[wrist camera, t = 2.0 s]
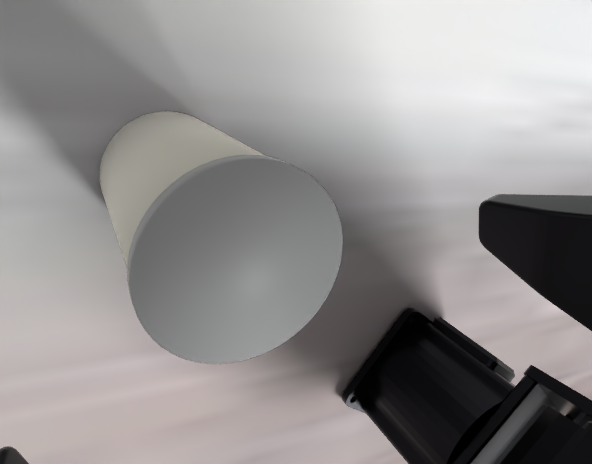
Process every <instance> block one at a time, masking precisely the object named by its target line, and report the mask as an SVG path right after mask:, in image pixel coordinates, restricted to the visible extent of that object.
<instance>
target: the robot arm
mask: <svg viewBox="0 0 592 464" xmlns="http://www.w3.org/2000/svg"><path fill="white" fill-rule="evenodd" d="M479 239H480V242H481V243H482V245H483V246H484V247H485V248H486V249H487V250H488V251H489V252H491V253H492V254H493V255H494V256H495V257H496V258H498V259H499V260H500V261H501V262H502V263H504V264H505V265H506V266H507V267H508V268H509V269H511V270H512V271H513V272H514V273H515V274H516V275H518V276H519V277H520V278H521V279H522V280H524V281H525V282H526V283H527V284H528V285H529V286H531V287H532V288H533V289H534V290H536V291H537V292H538V293H539V294H540V295H542V296H543V297H545V298H546V299H547V300H549V301H550V302H551V303H553V304H554V305H556V306H557V307H558V308H560V309H561V310H563V311H564V312H565V313H567V314H568V315H570V316H571V317H573V318H574V319H575V320H577V321H578V322H580V323H581V324H582V325H584V326H585V327H587V328H588V329H589V330H591V331H592V196H578V195H516V194H499V195H495V196H493V197H491V198H489V199H487V200H485V201H483V202H482V203H481V205H480V207H479ZM524 374H525V376H524V377H523V378H522V379H521V381H520V382H519V383H518V384H517V385H516V386H515V385H513V384H512V383H511V381H512V379H513V378H514V377H515V374H514V370H512V369H511V368H510V367H508V366H507V365H506V364H504V363H503V362H502V361H500V360H499V359H498V358H496V357H495V356H494V355H492V354H491V353H489V352H488V351H487V350H485V349H484V348H482V347H481V346H480V345H478V344H477V343H475V342H474V341H473V340H471V339H470V338H468V337H467V336H466V335H464V334H463V333H462V332H460V331H459V330H457V329H456V328H455V327H453V326H452V325H450V324H449V323H448V322H446V321H445V320H443V319H442V318H441V317H439V318H435V319H434V320H433V321H431V320H429V319H428V318H426V317H425V316H424V315H422V314H421V313H419V312H418V311H417V310H415V309H414V308H408V309H407V310H406V311H405V312H404V313H403V314H402V315H401V317H400V318H399V319H398V321H397V322H396V323H395V325H394V326H393V327H392V329H391V330H390V331H389V333H388V334H387V336H386V337H385V338H384V340H383V341H382V342H381V344H380V345H379V346H378V348H377V349H376V350H375V352H374V353H373V354H372V356H371V357H370V358H369V360H368V361H367V362H366V364H365V365H364V366H363V368H362V369H361V371H360V372H359V373H358V375H357V376H356V377H355V379H354V380H353V381H352V383H351V384H350V385H349V387H348V388H347V389H346V391H345V392H344V394H343V396H342V400H343V401H344V403H345V404H346V405H347V406H348V407H351V408H353V409H356V410H359V411H361V412H364V413H366V414H367V415H368V416H369V417H370V418H371V420H372V421H373V422H374V423H375V424H376V426H377V427H378V428H379V429H380V430H381V431H382V433H383V434H384V435H385V436H386V437H387V439H388V440H389V441H390V442H391V443H392V445H393V446H394V447H395V448H396V449H397V451H398V452H399V453H400V454H401V455H402V456H403V458H404V459H405V460H406V461H407V462H408V464H592V401H591V400H590V399H588V398H586V397H585V396H583V395H581V394H580V393H578V392H576V391H575V390H573V389H571V388H570V387H568V386H566V385H565V384H563V383H561V382H559V381H558V380H556V379H554V378H553V377H551V376H549V375H548V374H546V373H544V372H543V371H541V370H539V369H538V368H536V367H534V366H532V365H530V366H529V368H528V369H527V370H526V371H525V372H524ZM0 464H29V463H28V462H27V461H26V460H25V459H24V458H23V457H22V455H21V454H20V453H19V452H18V451H17V450H16V449H14V448H13V447H3V448H1V449H0Z"/></svg>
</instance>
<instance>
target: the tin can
mask: <svg viewBox="0 0 592 464" xmlns="http://www.w3.org/2000/svg"><path fill="white" fill-rule="evenodd" d="M100 185H101V190H102V193H103V196H104V199H105V202H106V206H107V209H108V212H109V215H110V218H111V221H112V224H113V227H114V230H115V233H116V236H117V239H118V242H119V245H120V248H121V251H122V254H123V257H124V260H125V263H126V266H127V281H128V286H129V292H130V296H131V299H132V303H133V306H134V308H135V311H136V314H137V317H138V319H139V321H140V322H141V324H142V326H143V328H144V329H145V330H146V332H147V333H148V334H149V335H150V337H151V338H152V339H153V340H154V341H155V342H157V343H158V344H159V345H160V346H161V347H162V348H164V349H166V350H167V351H169V352H170V353H172V354H174V355H176V356H178V357H181V358H183V359H186V360H190V361H194V362H198V363H206V364H226V363H235V362H239V361H244V360H248V359H251V358H254V357H257V356H260V355H262V354H264V353H266V352H268V351H271V350H272V349H274V348H276V347H278V346H279V345H281V344H283V343H284V342H286V341H287V340H289V339H290V338H291V337H293V336H294V335H295V334H296V333H297V332H299V331H300V330H301V329H302V328H303V327H304V326H305V325H306V324H307V323H308V322H309V321H310V320H311V319H312V318H313V316H314V315H315V314H316V313H317V312H318V310H319V309H320V308H321V306H322V305H323V303H324V302H325V300H326V298H327V297H328V295H329V293H330V291H331V289H332V287H333V284H334V282H335V280H336V277H337V274H338V271H339V267H340V263H341V257H342V248H343V236H342V227H341V222H340V217H339V215H338V212H337V209H336V207H335V205H334V203H333V201H332V199H331V197H330V196H329V194H328V193H327V192H326V190H325V189H324V188H323V186H321V185H320V184H319V183H318V182H317V181H316V180H315V179H314V178H313V177H311V176H310V175H309V174H307V173H306V172H304V171H302V170H301V169H299V168H297V167H295V166H293V165H291V164H289V163H287V162H285V161H282V160H279V159H276V158H273V157H268V156H265V155H263V154H261V153H259V152H258V151H256V150H254V149H252V148H250V147H248V146H247V145H245V144H243V143H241V142H239V141H237V140H236V139H234V138H232V137H230V136H228V135H226V134H225V133H223V132H221V131H219V130H217V129H215V128H214V127H212V126H210V125H208V124H206V123H204V122H203V121H201V120H199V119H197V118H195V117H193V116H190V115H187V114H184V113H179V112H171V111H162V112H154V113H149V114H146V115H143V116H140V117H138V118H136V119H134V120H132V121H130V122H129V123H127V124H126V125H125V126H123V127H122V128H121V129H120V130H119V131H118V132H117V133H116V134H115V135H114V137H113V138H112V139H111V140H110V142H109V144H108V145H107V147H106V149H105V152H104V154H103V157H102V161H101V165H100Z"/></svg>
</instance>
